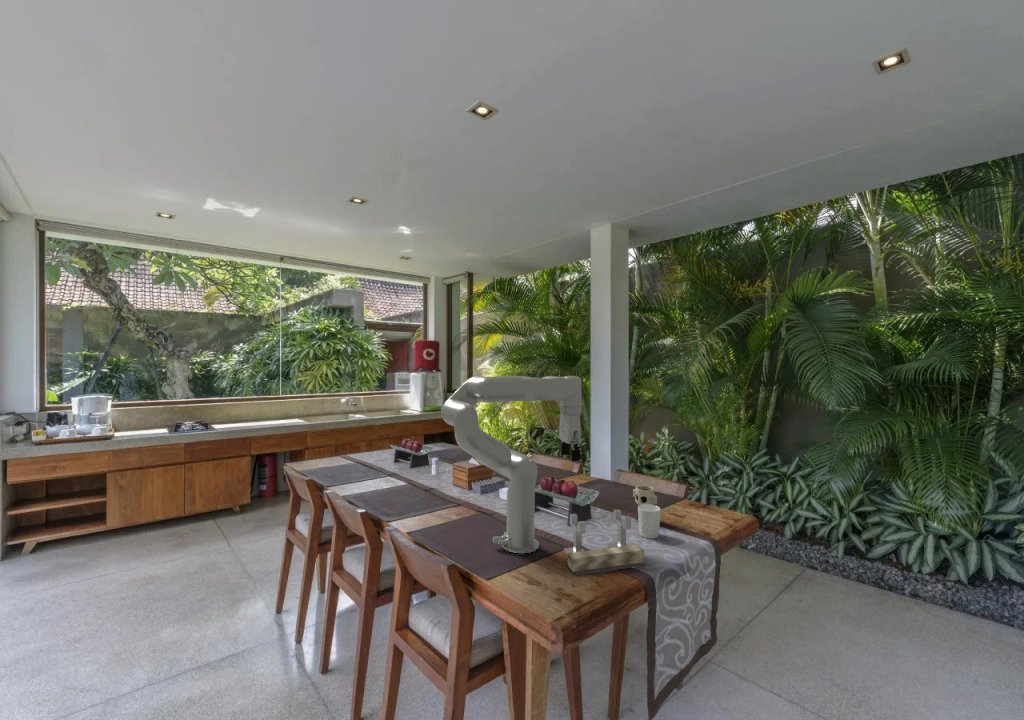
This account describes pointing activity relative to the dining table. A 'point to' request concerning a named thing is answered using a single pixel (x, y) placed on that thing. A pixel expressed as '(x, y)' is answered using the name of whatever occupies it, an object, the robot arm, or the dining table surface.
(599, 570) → the mat
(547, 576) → the dining table surface
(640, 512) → the white cup
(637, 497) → the character mug
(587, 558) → the rail
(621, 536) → the hook stands
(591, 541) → the dining table surface
